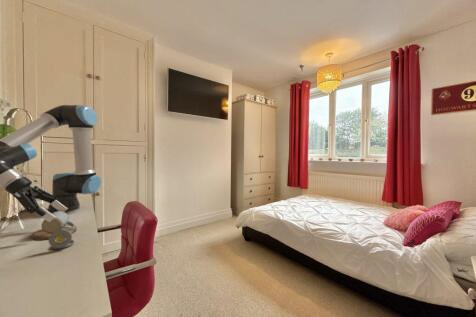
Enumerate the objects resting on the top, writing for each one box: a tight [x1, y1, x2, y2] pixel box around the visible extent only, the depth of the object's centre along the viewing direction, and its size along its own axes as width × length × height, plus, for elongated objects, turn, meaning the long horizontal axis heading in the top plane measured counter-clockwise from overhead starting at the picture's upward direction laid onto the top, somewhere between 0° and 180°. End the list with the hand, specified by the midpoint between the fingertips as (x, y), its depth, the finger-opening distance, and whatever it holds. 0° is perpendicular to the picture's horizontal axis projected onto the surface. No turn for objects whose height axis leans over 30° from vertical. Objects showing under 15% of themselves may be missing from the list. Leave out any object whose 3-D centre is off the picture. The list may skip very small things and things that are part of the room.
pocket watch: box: [48, 223, 75, 250], centre depth 76 cm, size 8×8×10 cm
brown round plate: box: [30, 225, 78, 241], centre depth 89 cm, size 15×15×1 cm
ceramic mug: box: [41, 211, 76, 233], centre depth 90 cm, size 11×8×8 cm
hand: (59, 215), depth 89 cm, fingers open, 13 cm apart
